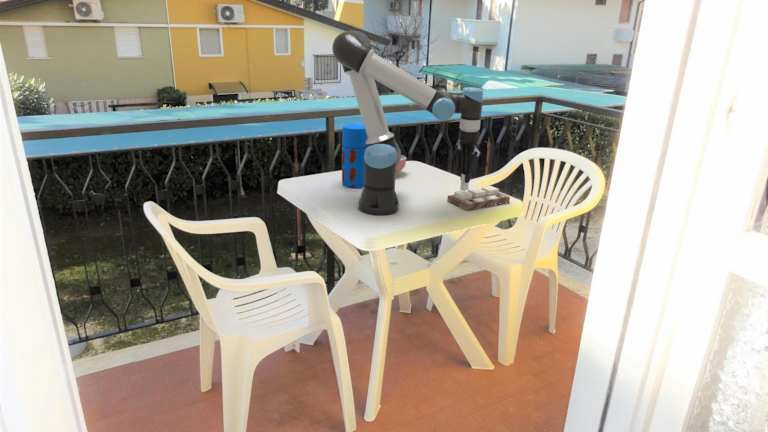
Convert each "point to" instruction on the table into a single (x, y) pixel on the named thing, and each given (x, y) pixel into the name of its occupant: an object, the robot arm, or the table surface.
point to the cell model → (401, 164)
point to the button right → (490, 190)
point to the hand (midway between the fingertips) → (464, 189)
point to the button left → (463, 195)
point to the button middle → (477, 192)
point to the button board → (478, 201)
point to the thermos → (353, 155)
